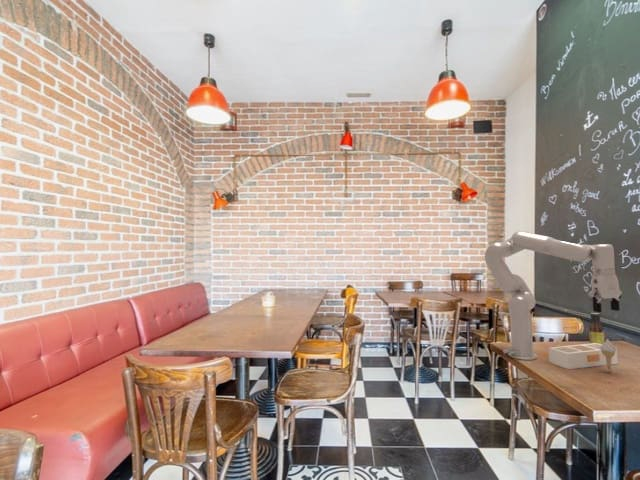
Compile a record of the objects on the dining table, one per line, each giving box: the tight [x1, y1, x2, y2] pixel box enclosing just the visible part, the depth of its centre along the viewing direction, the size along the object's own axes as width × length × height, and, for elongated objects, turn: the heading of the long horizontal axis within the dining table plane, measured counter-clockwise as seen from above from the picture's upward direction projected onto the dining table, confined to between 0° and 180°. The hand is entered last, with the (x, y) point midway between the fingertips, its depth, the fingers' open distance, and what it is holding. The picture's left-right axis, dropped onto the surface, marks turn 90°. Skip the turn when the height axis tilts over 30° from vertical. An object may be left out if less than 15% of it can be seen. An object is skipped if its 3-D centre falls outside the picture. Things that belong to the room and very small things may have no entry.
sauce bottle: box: [588, 312, 606, 345], centre depth 180 cm, size 7×6×20 cm
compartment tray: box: [548, 343, 619, 370], centre depth 163 cm, size 28×11×7 cm, turn 101°
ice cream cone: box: [600, 337, 616, 373], centre depth 151 cm, size 6×6×15 cm
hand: (606, 311), depth 151 cm, fingers open, 9 cm apart
